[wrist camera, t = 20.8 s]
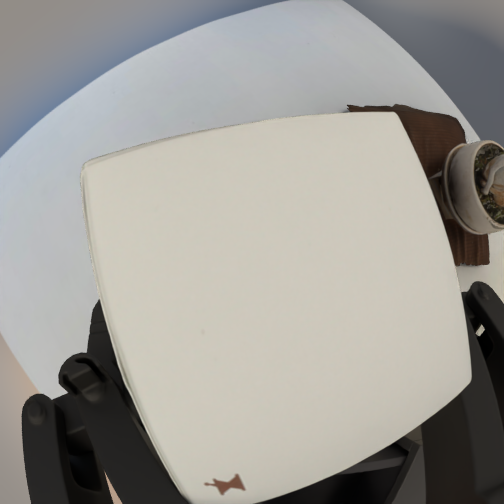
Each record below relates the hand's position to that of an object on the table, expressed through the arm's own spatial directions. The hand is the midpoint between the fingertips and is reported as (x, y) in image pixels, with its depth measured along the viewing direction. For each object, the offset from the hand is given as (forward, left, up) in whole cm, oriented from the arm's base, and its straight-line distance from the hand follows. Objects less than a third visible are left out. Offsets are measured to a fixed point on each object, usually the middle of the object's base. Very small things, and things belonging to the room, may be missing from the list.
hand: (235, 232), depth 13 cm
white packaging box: (0, -3, -5) cm, 6 cm away
